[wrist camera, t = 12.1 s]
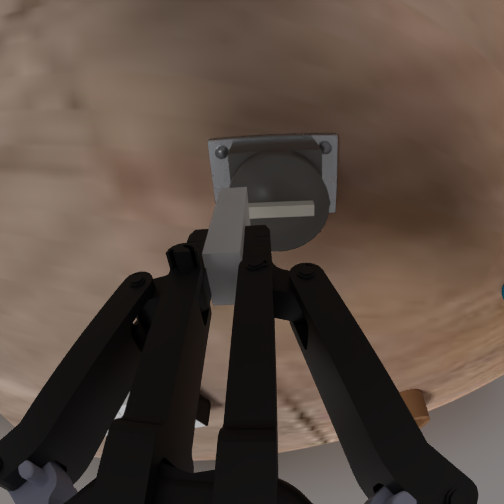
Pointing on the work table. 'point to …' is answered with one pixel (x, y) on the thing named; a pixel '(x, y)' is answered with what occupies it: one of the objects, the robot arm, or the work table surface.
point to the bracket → (416, 406)
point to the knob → (282, 187)
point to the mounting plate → (222, 145)
